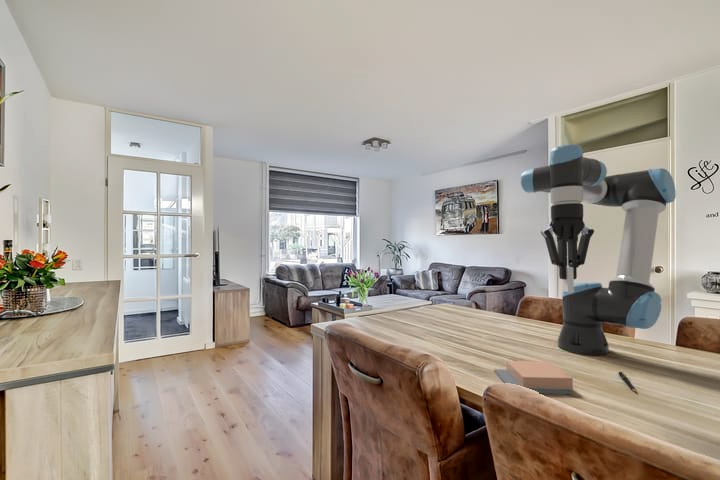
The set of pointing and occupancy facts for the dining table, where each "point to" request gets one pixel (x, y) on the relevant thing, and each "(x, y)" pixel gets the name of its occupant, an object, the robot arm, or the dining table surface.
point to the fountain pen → (626, 380)
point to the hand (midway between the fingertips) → (568, 291)
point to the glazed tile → (539, 375)
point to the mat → (509, 379)
